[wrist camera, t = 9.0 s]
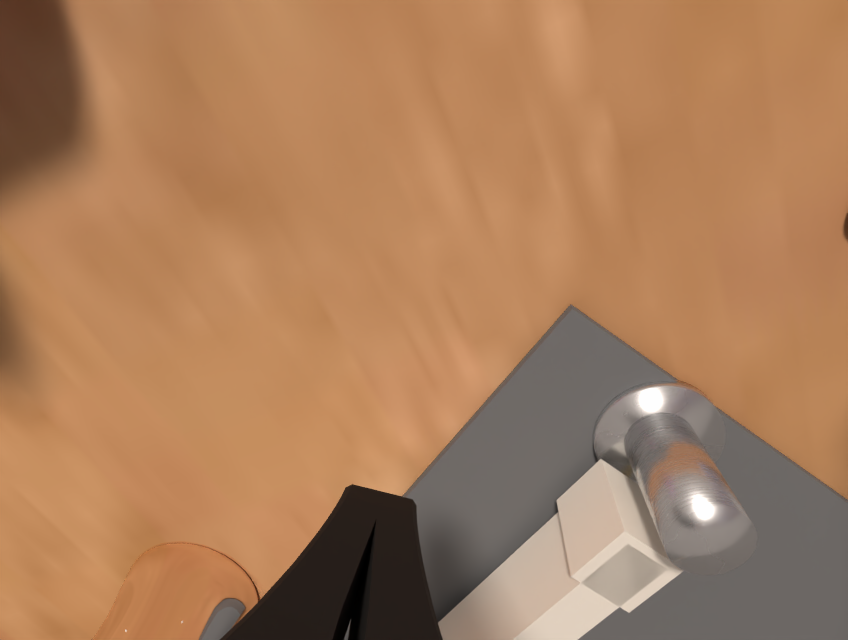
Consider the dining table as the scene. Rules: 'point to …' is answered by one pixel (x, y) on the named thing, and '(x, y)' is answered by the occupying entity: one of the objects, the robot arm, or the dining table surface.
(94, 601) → the dining table surface
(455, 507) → the mat
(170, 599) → the beer glass
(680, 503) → the post
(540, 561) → the gate
